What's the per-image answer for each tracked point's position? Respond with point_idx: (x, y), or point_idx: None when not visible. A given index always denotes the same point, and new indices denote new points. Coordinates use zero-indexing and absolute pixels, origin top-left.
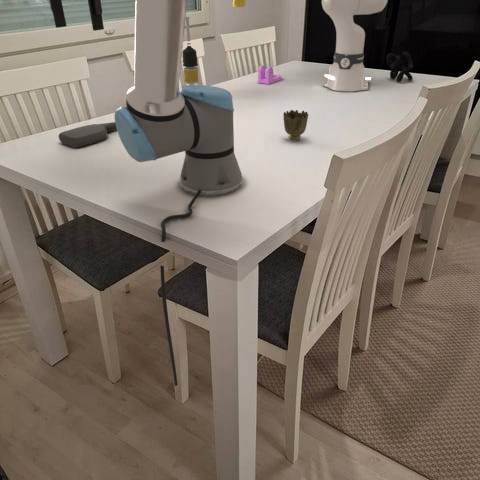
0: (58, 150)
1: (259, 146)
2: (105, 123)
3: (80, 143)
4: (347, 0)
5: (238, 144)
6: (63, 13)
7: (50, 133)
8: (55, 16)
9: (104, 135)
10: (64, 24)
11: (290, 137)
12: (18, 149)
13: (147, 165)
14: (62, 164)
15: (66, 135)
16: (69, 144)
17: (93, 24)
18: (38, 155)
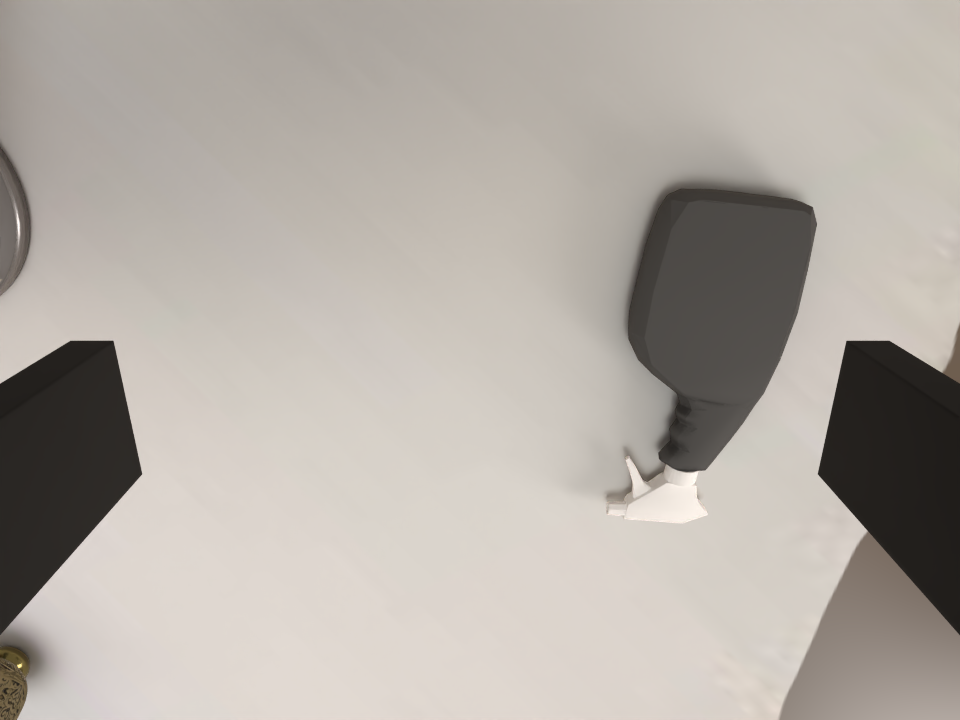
0: (734, 131)
1: None
2: (717, 430)
3: (658, 210)
4: None
5: (135, 542)
6: (911, 569)
7: (943, 270)
8: (937, 404)
9: (629, 336)
10: (837, 464)
11: (5, 651)
12: (936, 32)
13: (250, 210)
14: (579, 14)
15: (751, 207)
16: (716, 190)
17: (43, 370)
18: (775, 31)
